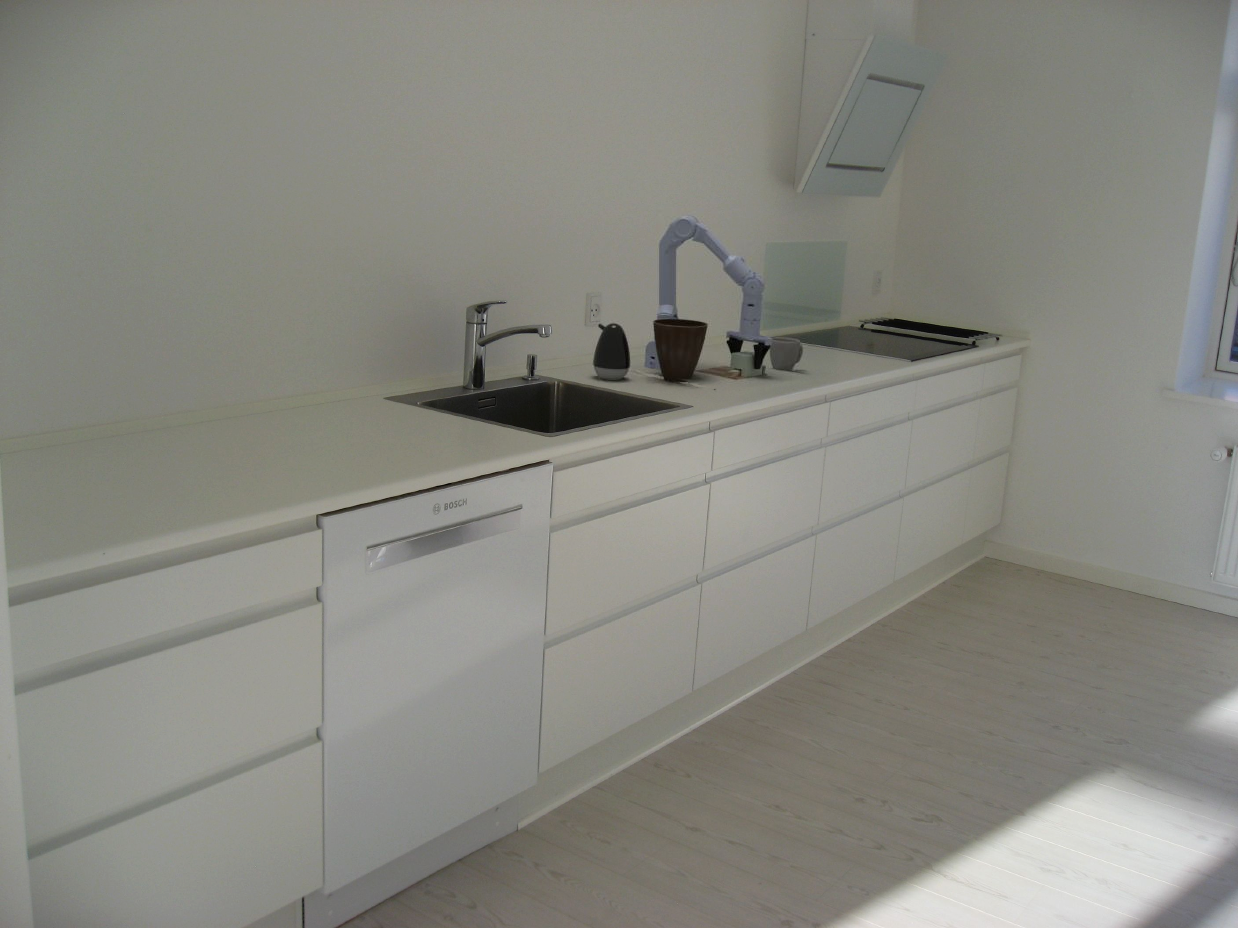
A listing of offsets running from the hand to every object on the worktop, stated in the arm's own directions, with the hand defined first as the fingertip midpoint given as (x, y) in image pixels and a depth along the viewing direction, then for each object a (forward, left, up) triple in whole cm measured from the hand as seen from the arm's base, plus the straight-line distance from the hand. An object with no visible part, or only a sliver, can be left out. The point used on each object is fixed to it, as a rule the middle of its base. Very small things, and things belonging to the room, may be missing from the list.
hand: (746, 366), depth 320 cm
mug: (+20, 0, -3) cm, 21 cm away
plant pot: (-21, +8, -3) cm, 23 cm away
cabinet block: (0, 0, -2) cm, 2 cm away
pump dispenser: (-36, +20, -3) cm, 41 cm away
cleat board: (-2, +4, -3) cm, 5 cm away
